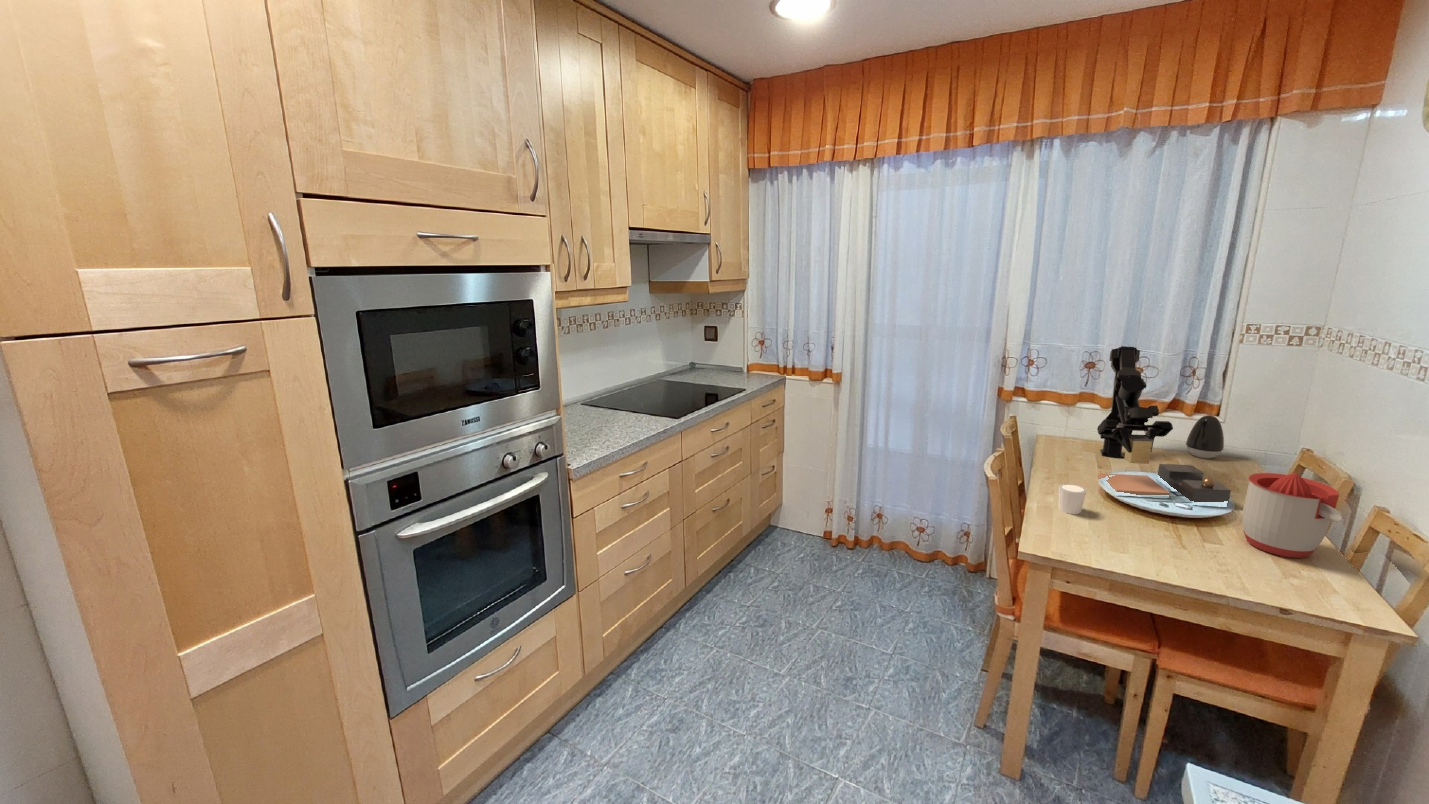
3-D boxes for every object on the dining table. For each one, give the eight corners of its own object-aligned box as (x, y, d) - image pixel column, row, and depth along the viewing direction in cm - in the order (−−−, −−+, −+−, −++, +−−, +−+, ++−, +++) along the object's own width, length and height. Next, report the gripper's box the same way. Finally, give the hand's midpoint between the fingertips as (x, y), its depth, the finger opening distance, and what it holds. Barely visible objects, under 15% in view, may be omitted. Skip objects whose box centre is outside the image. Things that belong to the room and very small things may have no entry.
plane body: (1156, 479, 184) (1160, 456, 182) (1188, 481, 182) (1193, 457, 180) (1191, 505, 165) (1195, 480, 163) (1227, 507, 163) (1232, 482, 161)
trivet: (1097, 478, 186) (1098, 473, 186) (1146, 481, 183) (1147, 475, 183) (1116, 496, 173) (1117, 490, 173) (1169, 499, 170) (1170, 493, 170)
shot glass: (1075, 505, 169) (1078, 483, 167) (1088, 515, 162) (1091, 492, 160) (1051, 505, 169) (1054, 483, 167) (1063, 515, 163) (1066, 492, 161)
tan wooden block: (1124, 458, 179) (1127, 434, 177) (1142, 459, 177) (1146, 434, 175) (1130, 463, 174) (1134, 438, 172) (1149, 464, 173) (1153, 439, 171)
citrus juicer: (1302, 572, 131) (1323, 492, 126) (1219, 537, 147) (1235, 466, 142) (1348, 560, 135) (1369, 483, 130) (1262, 528, 151) (1279, 458, 146)
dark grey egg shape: (1177, 454, 205) (1185, 414, 201) (1193, 449, 209) (1201, 410, 205) (1211, 463, 196) (1219, 421, 192) (1227, 457, 200) (1235, 416, 196)
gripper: (1106, 395, 177) (1116, 439, 169) (1175, 396, 172) (1189, 442, 165) (1092, 412, 186) (1102, 455, 179) (1158, 413, 182) (1170, 458, 174)
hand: (1140, 452), depth 174 cm, fingers closed on tan wooden block, 5 cm apart
